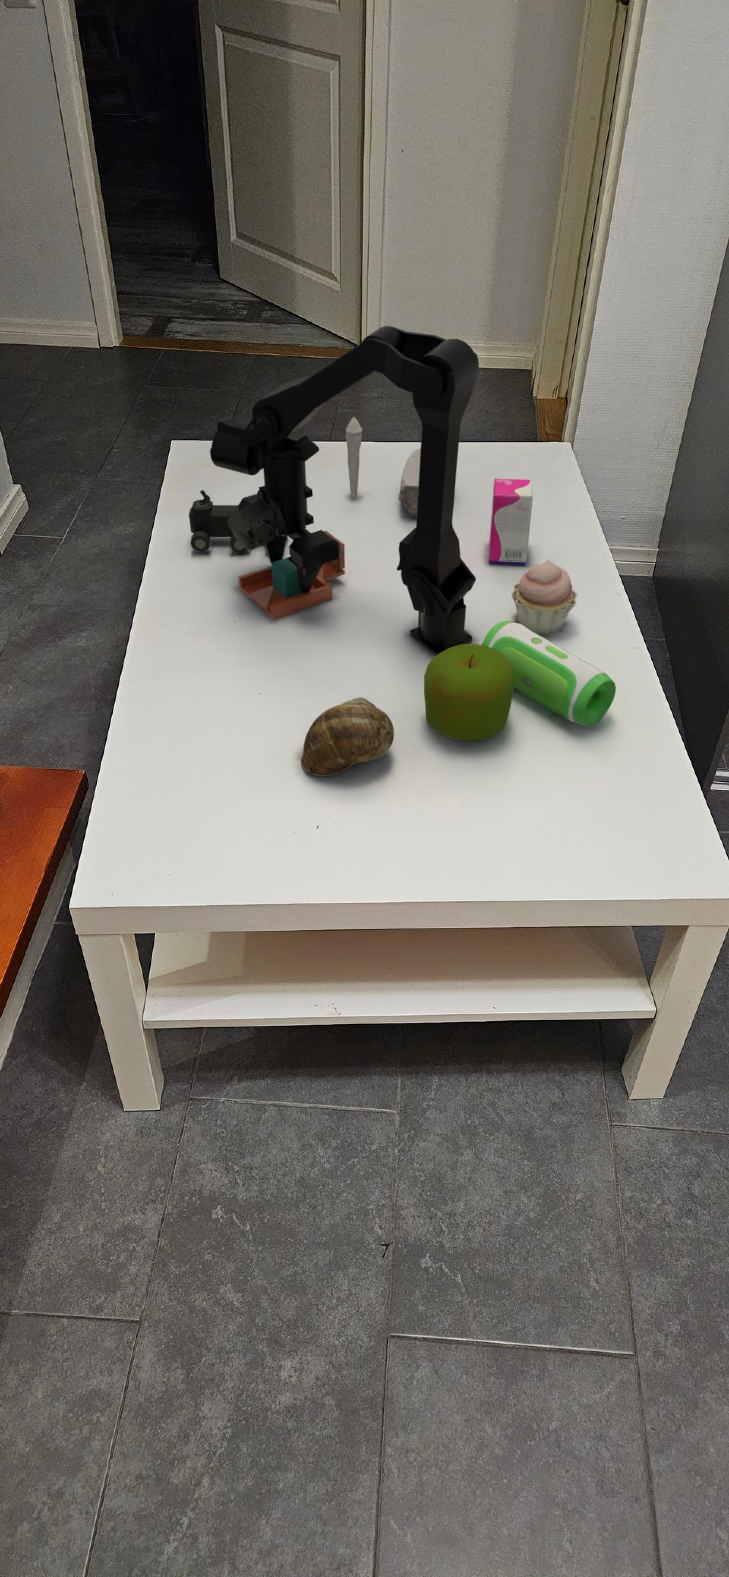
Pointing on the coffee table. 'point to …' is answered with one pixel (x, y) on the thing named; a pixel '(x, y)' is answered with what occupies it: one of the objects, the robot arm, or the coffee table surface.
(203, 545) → the toy vehicle
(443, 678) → the apple
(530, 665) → the speaker
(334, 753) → the seashell
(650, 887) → the coffee table surface
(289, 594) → the block
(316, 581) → the orange handled tray
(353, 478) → the grey pointed rod
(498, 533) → the supplement box
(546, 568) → the cupcake
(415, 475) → the decorative stone
